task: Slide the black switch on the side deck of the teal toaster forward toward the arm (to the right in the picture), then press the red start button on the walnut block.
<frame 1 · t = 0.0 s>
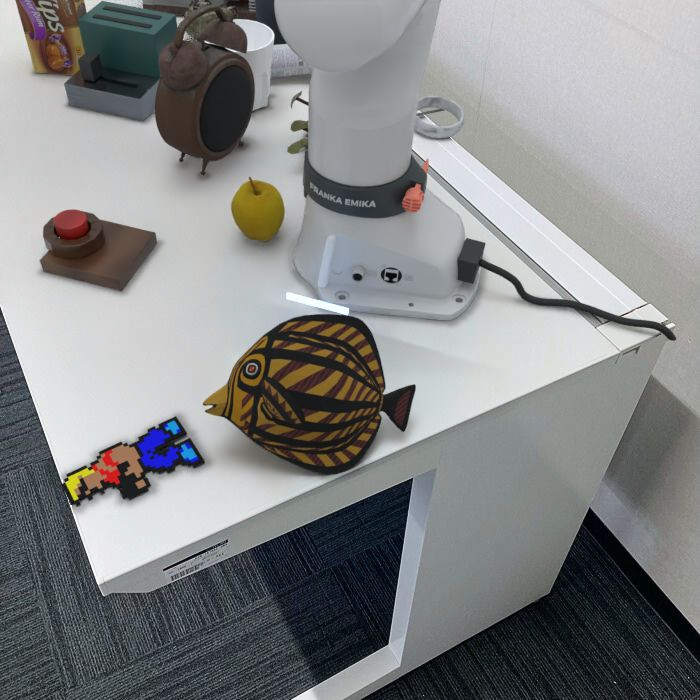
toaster: (127, 92, 116), on the table
figurine: (272, 130, 104), point 4 cm above the table, touching ring
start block: (101, 257, 91), on the table
pixel art figurine: (192, 437, 74), on the table
cup: (242, 100, 116), on the table, touching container
apple: (259, 237, 95), on the table
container: (326, 56, 120), point 3 cm above the table, touching cup, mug
slider: (90, 66, 111), point 5 cm above the table, slide at 0.0 cm
start button: (71, 224, 88), point 4 cm above the table, slide at 0.1 cm
rock: (234, 10, 131), point 2 cm above the table
alarm clock: (214, 157, 106), on the table
decorative fish sculpture: (297, 471, 71), point 1 cm above the table
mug: (283, 55, 126), on the table, touching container
ring: (438, 109, 112), point 3 cm above the table, touching figurine
model house: (219, 5, 140), on the table
candy box: (66, 69, 120), on the table
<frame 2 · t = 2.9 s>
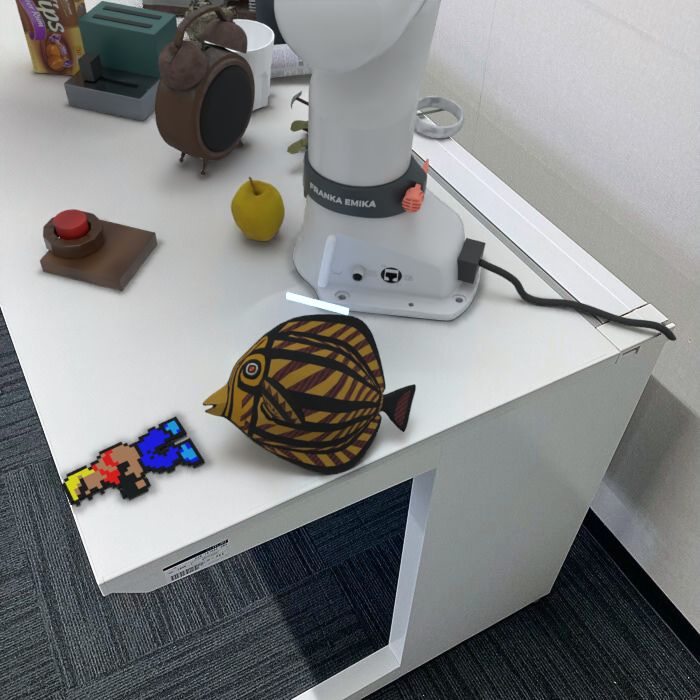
nothing on the table moved.
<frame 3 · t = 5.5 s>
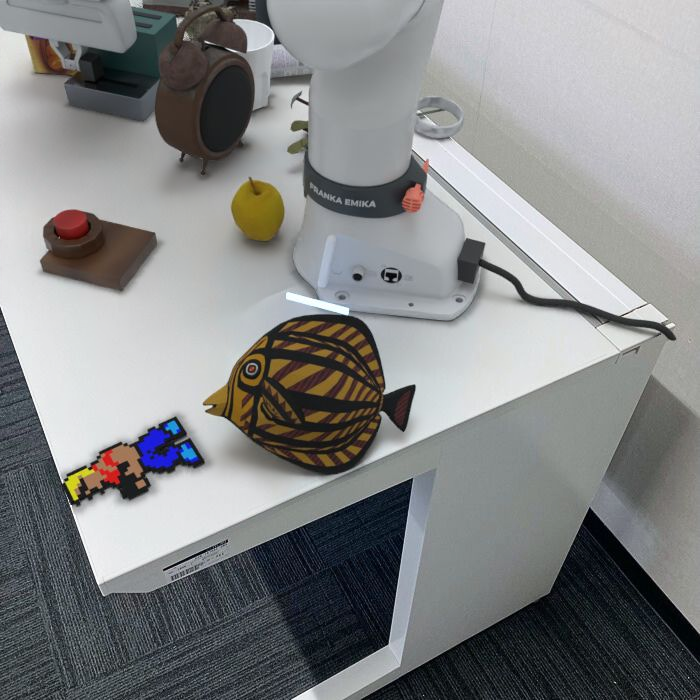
hand: (75, 68, 112), 4 cm above the table, tool pointing down, fingers closed
slider: (91, 66, 111), point 5 cm above the table, slide at 0.2 cm, touching gripper
everything else where it was.
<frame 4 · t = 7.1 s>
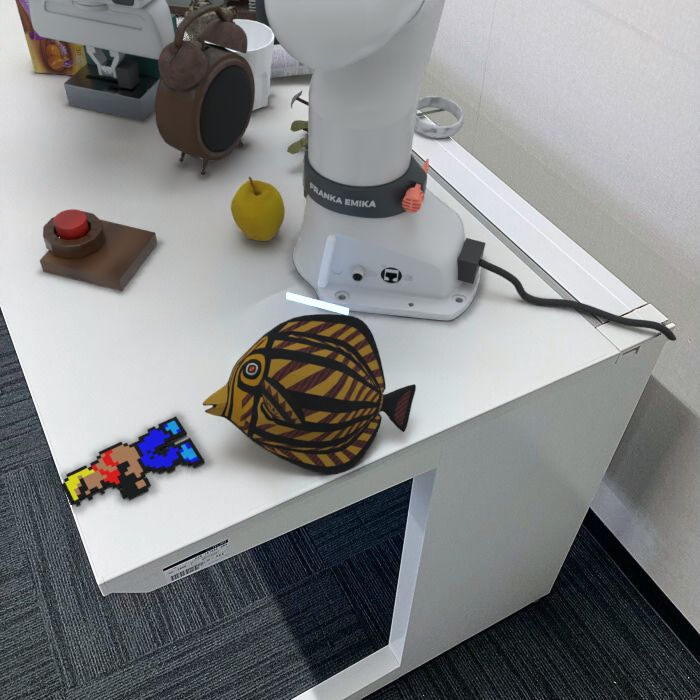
hand: (111, 75, 111), 5 cm above the table, tool pointing down, fingers closed
slider: (127, 74, 110), point 5 cm above the table, slide at 5.9 cm, touching gripper
everything else where it was.
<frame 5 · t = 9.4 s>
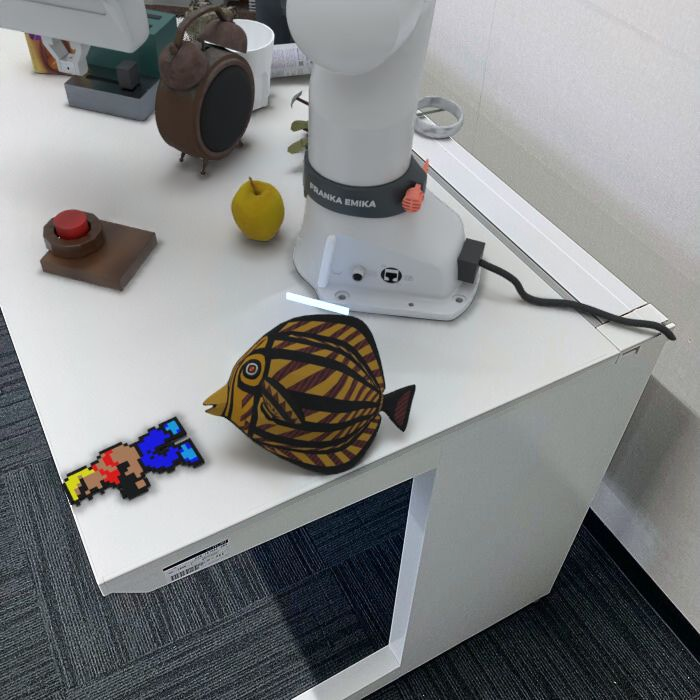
hand: (74, 72, 91), 14 cm above the table, tool pointing down, fingers closed
slider: (128, 74, 110), point 5 cm above the table, slide at 6.0 cm
everything else where it was.
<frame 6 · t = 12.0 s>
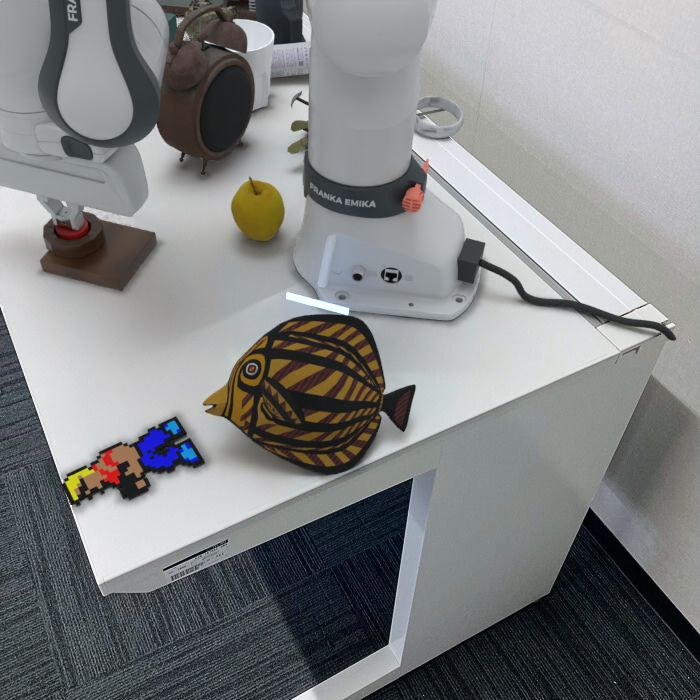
hand: (69, 224, 89), 4 cm above the table, tool pointing down, fingers closed, pressing on start button
start button: (73, 231, 89), point 3 cm above the table, slide at -0.8 cm, touching gripper
everything else where it was.
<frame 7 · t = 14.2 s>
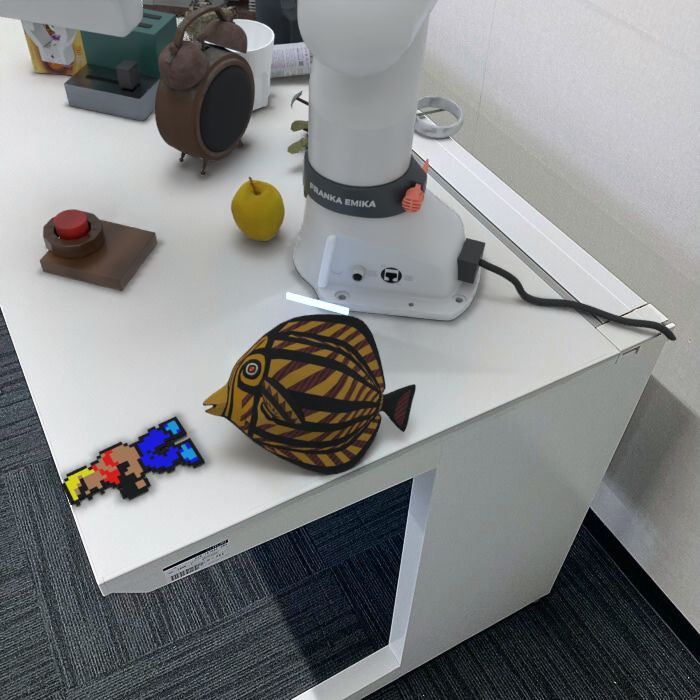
hand: (59, 61, 82), 20 cm above the table, tool pointing down, fingers closed
start button: (71, 224, 88), point 4 cm above the table, slide at 0.1 cm
everything else where it was.
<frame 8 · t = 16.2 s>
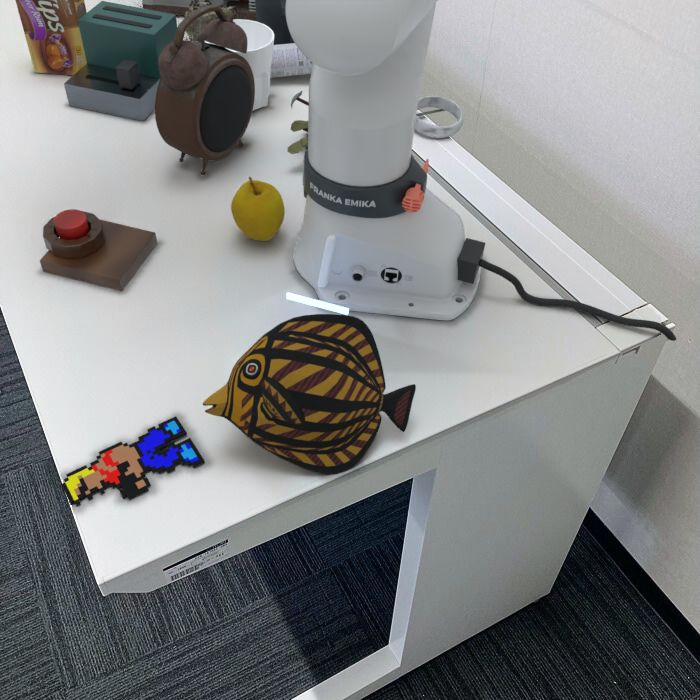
nothing on the table moved.
at the end: slider slide at 6.0 cm; start button pushed in 1.0 cm at the most during the clip, back to where it started at the end; start button slide at 0.1 cm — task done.
